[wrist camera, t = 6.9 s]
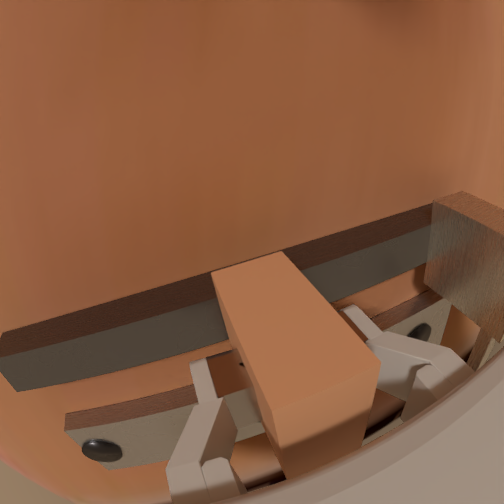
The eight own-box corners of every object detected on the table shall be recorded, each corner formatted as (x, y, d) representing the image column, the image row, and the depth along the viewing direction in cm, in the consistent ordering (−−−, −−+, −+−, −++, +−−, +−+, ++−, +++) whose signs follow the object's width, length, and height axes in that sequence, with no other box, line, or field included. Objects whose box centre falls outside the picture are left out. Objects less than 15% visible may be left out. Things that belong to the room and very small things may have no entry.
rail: (456, 175, 14) (563, 224, 8) (435, 313, 19) (504, 375, 13) (-11, 311, 10) (-66, 447, 4) (89, 438, 14) (96, 545, 8)
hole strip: (442, 282, 18) (456, 292, 17) (429, 336, 20) (440, 347, 19) (62, 414, 13) (61, 433, 12) (104, 455, 16) (105, 472, 14)
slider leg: (281, 250, 10) (381, 362, 6) (299, 413, 15) (345, 493, 10) (210, 272, 10) (271, 410, 5) (257, 429, 15) (296, 514, 10)
